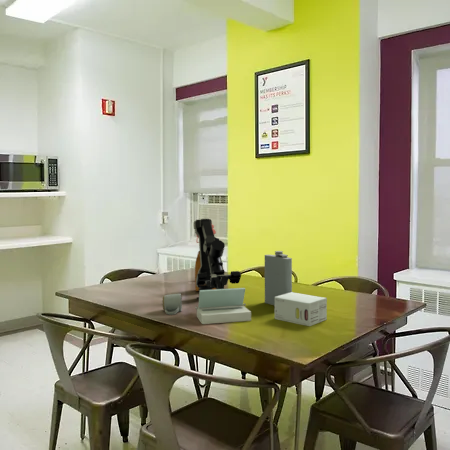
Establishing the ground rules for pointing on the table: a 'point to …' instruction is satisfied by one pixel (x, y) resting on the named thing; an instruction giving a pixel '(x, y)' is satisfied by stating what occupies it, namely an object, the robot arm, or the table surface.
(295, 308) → the supplement box
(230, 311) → the panel
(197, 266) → the coffee package
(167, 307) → the ceramic mug
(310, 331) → the table surface
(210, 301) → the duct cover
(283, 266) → the flask
